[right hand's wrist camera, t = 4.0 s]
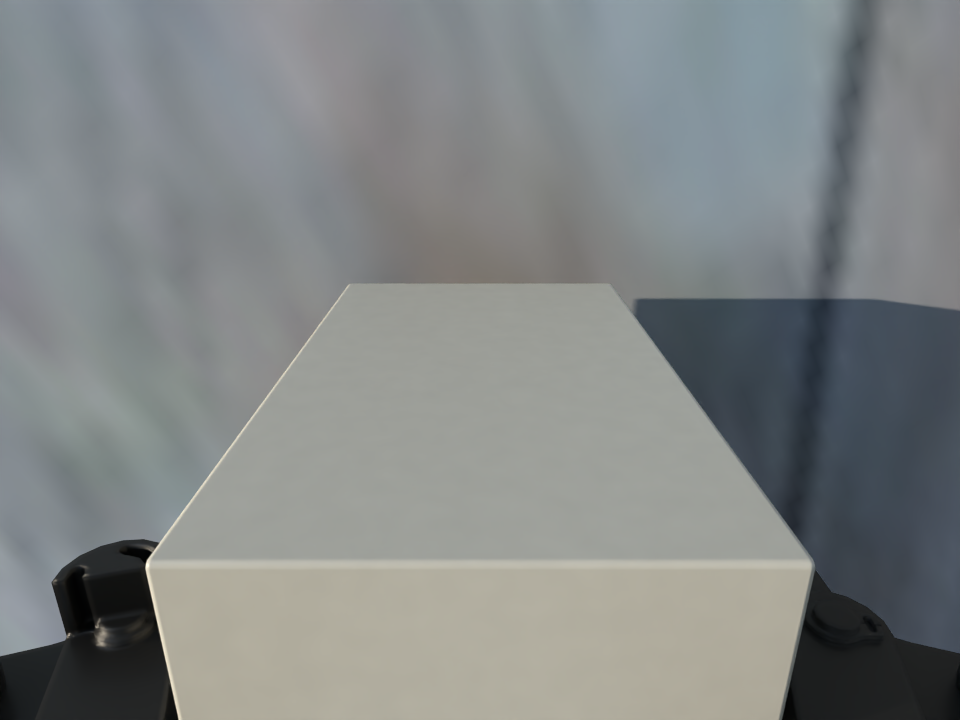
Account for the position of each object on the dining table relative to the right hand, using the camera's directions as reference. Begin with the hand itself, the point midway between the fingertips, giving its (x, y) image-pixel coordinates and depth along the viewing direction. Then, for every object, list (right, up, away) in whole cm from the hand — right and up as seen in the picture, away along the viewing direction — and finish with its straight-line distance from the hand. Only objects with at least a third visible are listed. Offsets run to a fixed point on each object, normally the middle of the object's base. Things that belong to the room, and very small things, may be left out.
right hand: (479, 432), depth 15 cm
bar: (0, -9, +4) cm, 10 cm away
